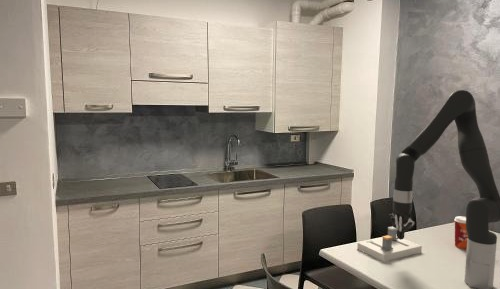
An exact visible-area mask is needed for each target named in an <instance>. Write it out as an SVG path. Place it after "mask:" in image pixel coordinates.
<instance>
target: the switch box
mask: <svg viewBox="0 0 500 289" xmlns="http://www.w3.org/2000/svg"><path fill="white" fill-rule="evenodd" d="M396 237H397V235H396ZM382 241H383V238H382V237H378V238H372V239H368V240H364V241H358V242H357V250H359V251H361V252H363V253H366V254H367V255H369V256H371V257H373V258H375V259H377V260H379V261H381V262H387V261H392V260H395V259H396V260H397V259H399V258H404V257H408V256H412V255H415V254H419V253H422V251H423V250H422V248H423V246H422V245H421V244H417V243H416V242H413V241H412V240H411V241H410V240H408V239H406V238H403V239H401V240H400V239H396V240H392V248H393V249H392V250H388V251H385V250H383V249H381V247H382Z"/></svg>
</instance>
